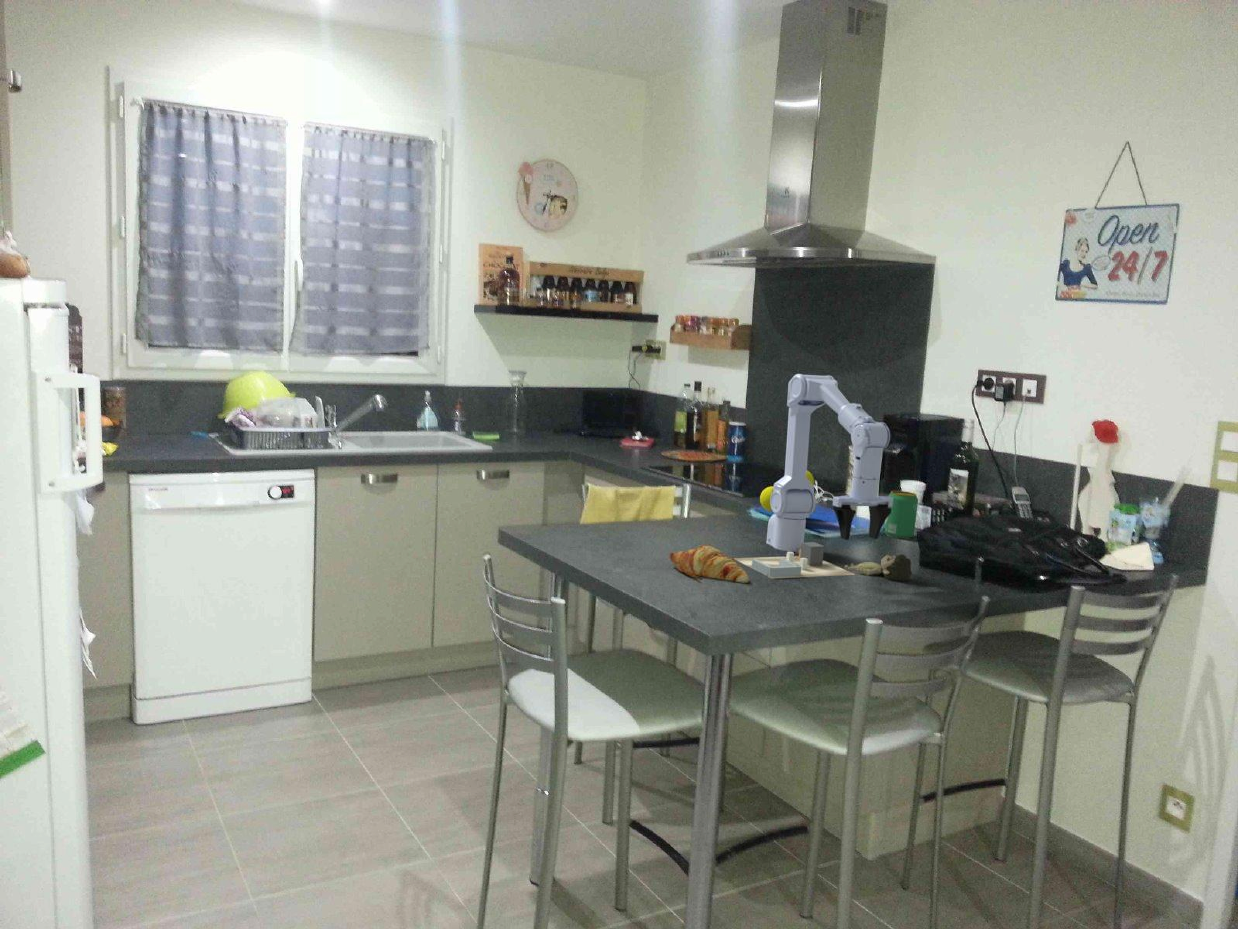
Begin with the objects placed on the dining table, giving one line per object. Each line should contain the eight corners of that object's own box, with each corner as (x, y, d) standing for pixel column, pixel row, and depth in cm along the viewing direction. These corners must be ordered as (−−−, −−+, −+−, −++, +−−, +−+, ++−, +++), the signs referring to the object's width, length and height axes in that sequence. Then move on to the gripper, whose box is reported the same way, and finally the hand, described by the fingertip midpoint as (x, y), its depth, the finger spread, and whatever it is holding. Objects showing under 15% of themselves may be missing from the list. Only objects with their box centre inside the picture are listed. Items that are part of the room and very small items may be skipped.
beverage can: (886, 531, 283) (891, 489, 282) (915, 535, 280) (920, 493, 278) (881, 536, 276) (886, 493, 274) (911, 540, 273) (916, 497, 271)
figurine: (855, 552, 237) (915, 552, 227) (857, 579, 237) (918, 581, 227) (838, 556, 231) (900, 557, 221) (841, 585, 231) (902, 586, 221)
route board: (732, 562, 234) (733, 558, 234) (812, 559, 242) (813, 555, 242) (771, 582, 218) (771, 578, 218) (855, 579, 227) (855, 574, 227)
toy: (841, 505, 277) (830, 468, 288) (787, 490, 273) (778, 453, 284) (813, 543, 287) (804, 505, 298) (760, 529, 283) (753, 492, 294)
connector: (790, 557, 239) (792, 538, 238) (803, 556, 241) (805, 538, 240) (809, 565, 232) (811, 546, 231) (822, 565, 233) (824, 546, 233)
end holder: (751, 568, 226) (752, 559, 226) (782, 566, 229) (783, 558, 229) (769, 577, 219) (770, 568, 219) (800, 575, 222) (801, 566, 222)
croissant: (753, 601, 216) (766, 566, 218) (732, 586, 209) (746, 551, 210) (674, 576, 229) (687, 544, 231) (652, 562, 222) (666, 529, 224)
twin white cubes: (785, 562, 234) (786, 551, 234) (790, 561, 234) (791, 551, 234) (802, 569, 228) (803, 559, 227) (806, 569, 228) (807, 559, 228)
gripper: (849, 480, 214) (842, 543, 216) (904, 480, 220) (897, 541, 222) (830, 474, 220) (823, 535, 222) (884, 475, 226) (877, 534, 228)
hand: (858, 538), depth 223 cm, fingers open, 7 cm apart
